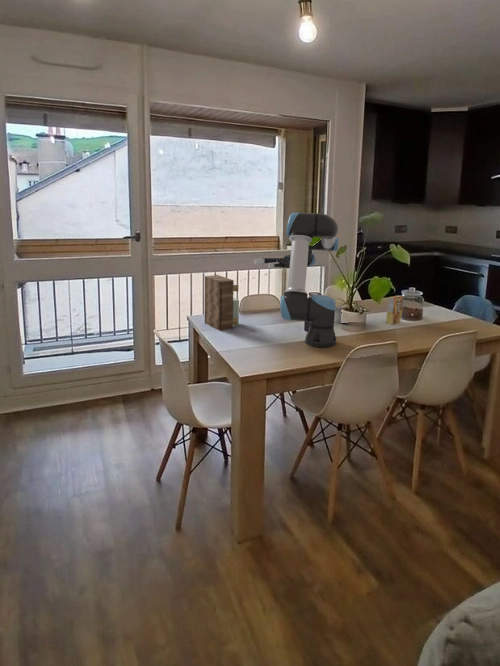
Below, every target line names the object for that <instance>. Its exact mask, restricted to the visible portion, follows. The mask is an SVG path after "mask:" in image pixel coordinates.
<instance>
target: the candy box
mask: <svg viewBox="0 0 500 666" xmlns="http://www.w3.org/2000/svg"><path fill="white" fill-rule="evenodd" d="M404 298H405V297H404V296H403V295H394V296H389V297H388V303H387V311H386V319H385V323H386V324H388V325H395V324H399V323H401V319H402V314H403V313H402V312H403V307H404V306H403V305H404V301H405V300H404Z"/></svg>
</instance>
